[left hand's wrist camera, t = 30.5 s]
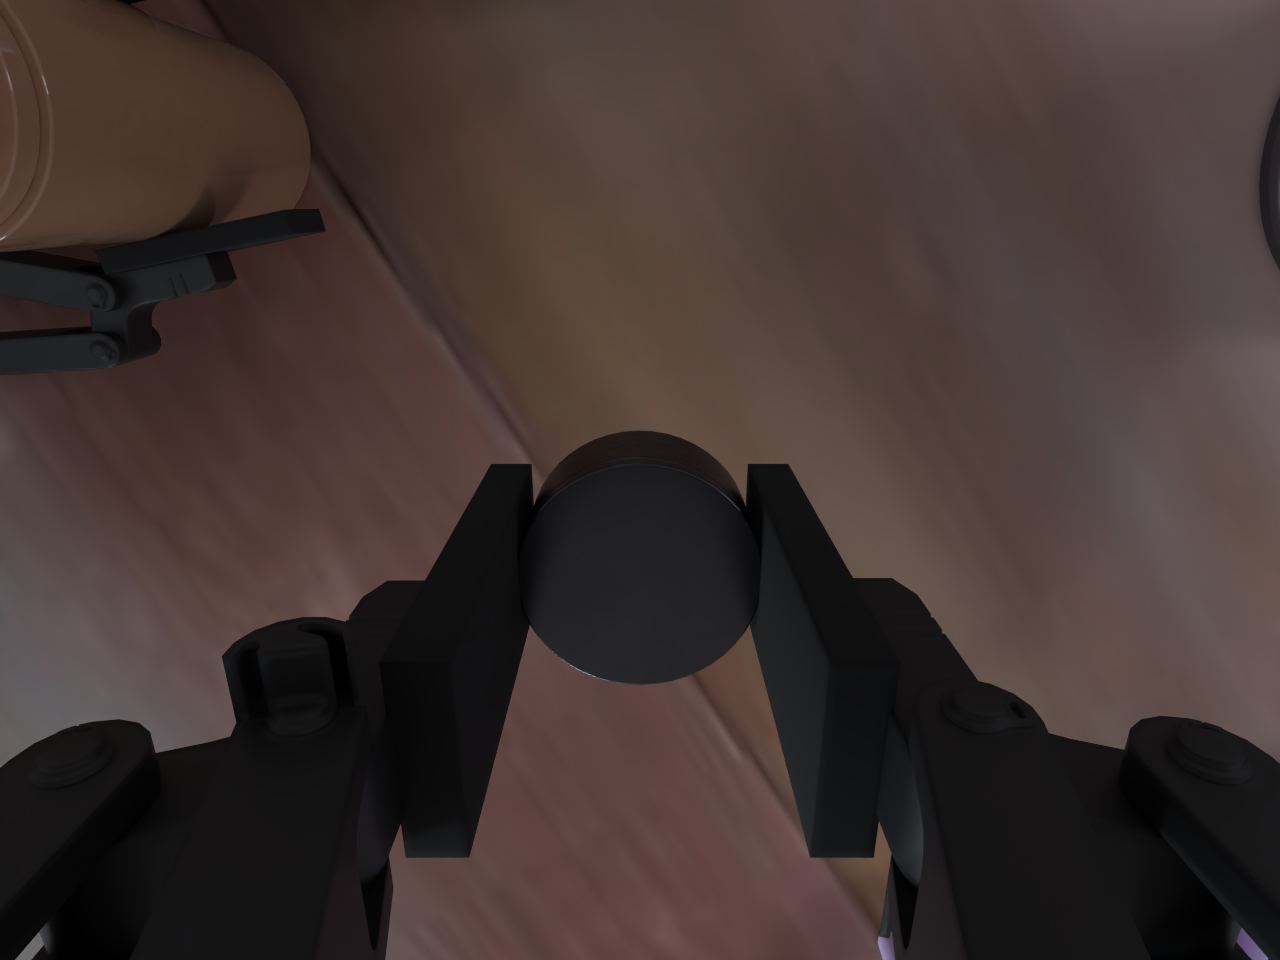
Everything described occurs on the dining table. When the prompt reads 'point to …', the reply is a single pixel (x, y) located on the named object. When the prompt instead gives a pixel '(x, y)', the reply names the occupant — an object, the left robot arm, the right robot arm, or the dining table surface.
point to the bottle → (135, 127)
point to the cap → (639, 559)
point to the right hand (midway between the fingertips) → (262, 92)
